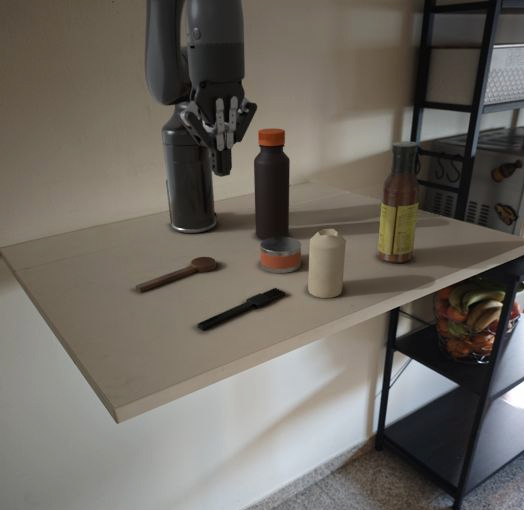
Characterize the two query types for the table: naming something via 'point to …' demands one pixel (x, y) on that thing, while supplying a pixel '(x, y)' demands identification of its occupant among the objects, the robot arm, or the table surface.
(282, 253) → the tin can
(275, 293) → the fork
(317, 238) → the candle
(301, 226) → the table surface
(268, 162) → the vinegar
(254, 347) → the table surface
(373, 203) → the table surface
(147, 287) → the spoon
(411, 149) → the sauce bottle
